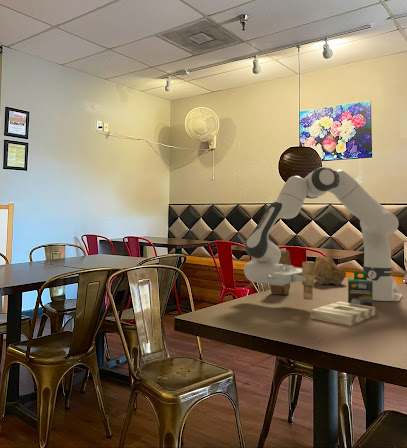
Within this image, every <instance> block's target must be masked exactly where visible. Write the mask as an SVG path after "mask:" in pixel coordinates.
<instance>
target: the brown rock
mask: <svg viewBox="0 0 407 448" xmlns="http://www.w3.org/2000/svg"><path fill="white" fill-rule="evenodd" d="M337 265H338V264H336V263H335V261H334V260H333V259H332V258H330V257H329V256H328V257H327V256H320V255H319V256H317V257H316V259H315V262H314V275H315V279H314V281H316V282H317V284H318V285H324V284H325V285H330V284H333V285H336V286H340V285H341V284H342V283H343V281H344V279H345V278H346V276H347V272H346V270H345V269H344V268H341V267H338V266H337Z"/></svg>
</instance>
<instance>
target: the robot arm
mask: <svg viewBox="0 0 407 448" xmlns="http://www.w3.org/2000/svg"><path fill="white" fill-rule="evenodd" d="M326 193H330V194H333V195H334V196H335V198H336V199H338V201H339V202H340V203H341V204H342V205H343V206H344V208H345V209H346V210H348V211H349V213H350V214H352V215H353V216H355V217H356V218H357V219H358V220H359V226H360V228H361V233H362V234H361V235H362V240H363V241H362V242H363V249H364V250H363V251H364V255H363V259H364V260H363V266H362V271H364V272H367V278H371V279H372V281H373V301H375V302H377V301H378V302H380V301H381V302H399V301H400V300H401V299H402V298H403V294H402V293H398V283H397V282H396V281H395V279H394V277H393V273H394V267H392V266H391V265H392V249H391V245H390V244H389V239H388V236H390V235H393V234H394V233H396V232H397V230H398V229H399V225H400V224H399V223H400V222H399V219H398V217H397V216H396V215H395V214H393V213H392V212H390V211H389V210H388V209H387V208H386V207H384V206H383V204H381V203H380V202H378V201H377V200H376V199H374V197H372V196H371V195H370V194H369V193H368V191H367V190H365V189H364V188H363V187H362V185H361V184H360V183H358V182H357V180H355V178H353V177H352V176H351V175H350V174H348V173H347V172H346V171H344V170H342V169H338V170H333V169H332V168H331V167H327V166H320V167H318V168H315V170H313V171H311V172H310V173H308V174H307V175H306V176H305V177H301V176H299V175H292V176H290V177H288V179H287V180H286V182H284V185H283V186H282V188H281V190H280V192H279V194H278V196H277V198H276V199H275V201H273V202H272V203H270V204H269V206H268V207H267V208H266V210H265V211H264V213H263V214H262V216H261V218H260V219H259V221H258V223H257V225H256V226H255V228H254V230H253V231H252V232H251V233H250V234H249V236H247V238H246V240H245V243H244V249H245V252H246V255H248V256H250V257H251V260H250V261H248V262H246V263H245V265H244V268H243V273H244V275H245V277H246V279H247V280H248V281H250V282H253V283H257V284H268V285H270V286H271V285H278V286H284V285H285V284H289V283H291V284H292V283H297V282H302V281H307V276H302V267H297V266H294V265H284V264H279V261H280V259H281V251H282V250H281V249H280V248H279V246H278V245H276V244H274V243H273V242H272V241H271V240H269V235H270V232H271V231H272V229H273V228H274V225H275V224H276V222H277V221H278V220H280V219H284V220H285V219H286V220H290V219H293V218H295V217H297V216H298V215H299V213H300V211H301V209H302V207H303V204H304V202H305V200H306V199H311V200H312V199H317V198H319V197H321V196H323V195H325V194H326ZM361 277H363V275H362V276H361ZM314 279H315V275H314Z"/></svg>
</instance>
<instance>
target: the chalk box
mask: <svg viewBox="0 0 407 448" xmlns="http://www.w3.org/2000/svg"><path fill="white" fill-rule="evenodd" d="M358 275H362V276H363V277H362V276H361V277H360V276H358ZM347 301H348V302H347V303H353V304H359V305H366V306H372V307H373V301H374V300H373V281H372V279H371V278H367V272H364V271H363V270H362V271H361V270H358V271H357V270H355V271H354V272H353V277H348V278H347Z"/></svg>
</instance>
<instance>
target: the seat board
mask: <svg viewBox="0 0 407 448" xmlns="http://www.w3.org/2000/svg"><path fill="white" fill-rule="evenodd" d="M310 310H311V313H310V314H311V319H314V320H319V321H325V322H328V323H333V324H338V325H344V326H354V325H355V324H358V323H360V322H362V321H365V320H367V319H369V318H372V317H373V316H374V317H375V315H376V306H373V305H372V306H366V305H359V304H353V303H348V302H345V301H340V300H339V301H336V302H332V303H330V304H326V305H323V306H319V307H315V308H313V309H310Z"/></svg>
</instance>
